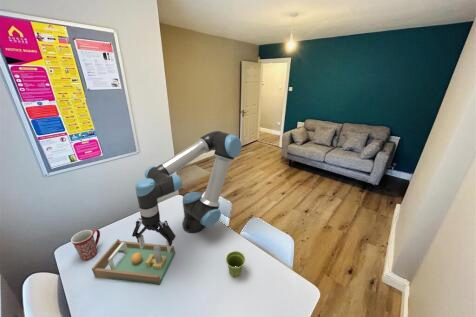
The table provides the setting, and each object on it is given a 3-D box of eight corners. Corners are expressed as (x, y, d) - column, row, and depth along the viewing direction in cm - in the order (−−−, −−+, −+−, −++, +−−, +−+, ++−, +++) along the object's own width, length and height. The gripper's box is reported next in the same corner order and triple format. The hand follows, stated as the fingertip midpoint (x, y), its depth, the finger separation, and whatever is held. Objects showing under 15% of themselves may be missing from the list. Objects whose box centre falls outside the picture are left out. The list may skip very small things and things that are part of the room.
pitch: (175, 253, 107) (173, 240, 103) (159, 284, 90) (156, 271, 87) (119, 247, 110) (116, 235, 106) (95, 277, 93) (89, 263, 90)
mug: (86, 264, 99) (78, 245, 94) (74, 259, 102) (66, 239, 97) (109, 246, 110) (103, 227, 105) (97, 241, 113) (91, 223, 108)
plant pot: (247, 266, 100) (247, 254, 97) (241, 283, 92) (241, 270, 88) (230, 261, 103) (230, 249, 99) (223, 276, 94) (222, 264, 91)
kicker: (166, 258, 101) (163, 242, 96) (160, 269, 95) (157, 252, 91) (151, 257, 101) (148, 241, 97) (145, 267, 96) (141, 251, 92)
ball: (143, 256, 102) (141, 249, 100) (142, 264, 98) (140, 256, 96) (132, 259, 100) (130, 252, 99) (131, 267, 96) (129, 260, 94)
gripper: (180, 209, 88) (183, 245, 96) (128, 205, 90) (136, 240, 98) (173, 220, 81) (178, 257, 89) (117, 215, 83) (126, 252, 91)
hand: (156, 248), depth 94 cm, fingers open, 13 cm apart
